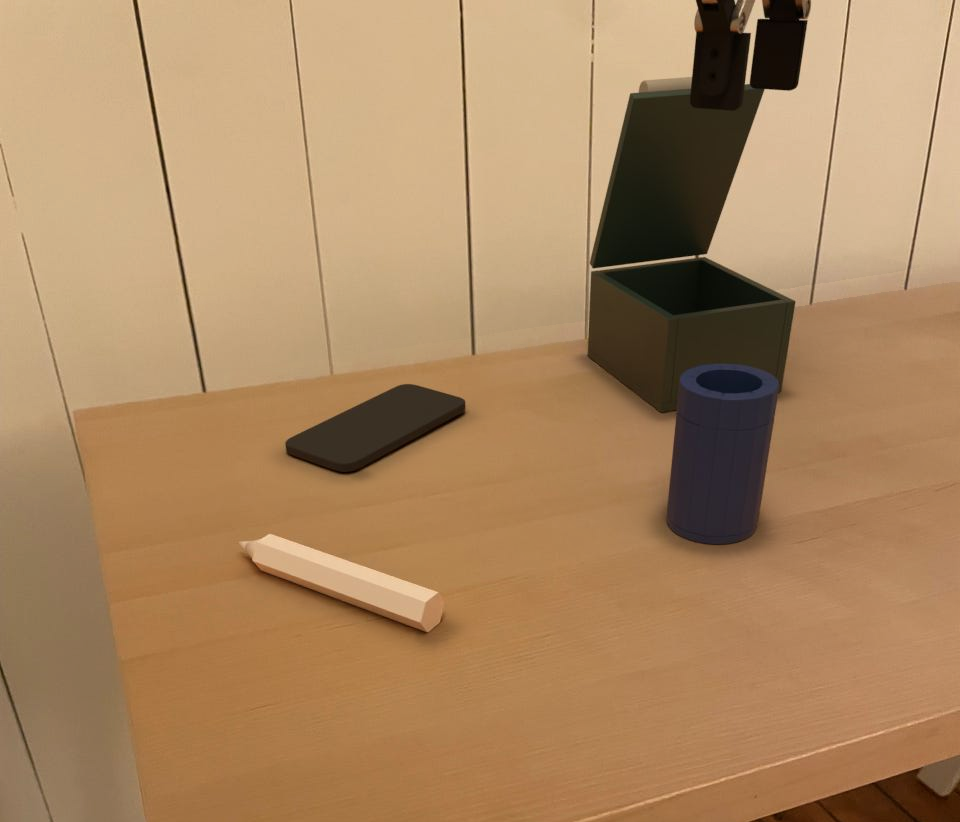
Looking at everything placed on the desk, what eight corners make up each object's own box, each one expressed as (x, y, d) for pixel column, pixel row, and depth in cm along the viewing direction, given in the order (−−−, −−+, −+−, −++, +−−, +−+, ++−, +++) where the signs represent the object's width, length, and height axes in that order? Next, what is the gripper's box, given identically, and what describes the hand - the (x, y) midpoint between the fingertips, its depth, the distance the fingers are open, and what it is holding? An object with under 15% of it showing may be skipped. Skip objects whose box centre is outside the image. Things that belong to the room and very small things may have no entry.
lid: (765, 88, 80) (736, 53, 83) (634, 98, 77) (608, 62, 80) (707, 254, 93) (683, 219, 96) (592, 268, 90) (571, 232, 92)
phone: (277, 442, 78) (404, 381, 88) (279, 452, 79) (405, 390, 88) (346, 466, 75) (471, 400, 84) (348, 477, 75) (472, 409, 85)
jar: (709, 493, 72) (726, 356, 66) (775, 526, 68) (799, 383, 62) (648, 518, 69) (660, 378, 63) (712, 554, 65) (731, 407, 59)
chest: (781, 392, 87) (795, 301, 82) (661, 413, 84) (669, 319, 79) (696, 339, 98) (704, 256, 94) (587, 356, 95) (590, 271, 90)
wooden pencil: (240, 562, 67) (437, 632, 59) (217, 561, 65) (418, 633, 58) (248, 524, 66) (448, 589, 59) (226, 521, 65) (429, 588, 57)
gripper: (802, -284, 47) (751, 122, 57) (903, -247, 59) (845, 85, 69) (656, -268, 51) (631, 112, 61) (778, -236, 62) (741, 79, 72)
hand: (745, 98), depth 65 cm, fingers open, 9 cm apart
